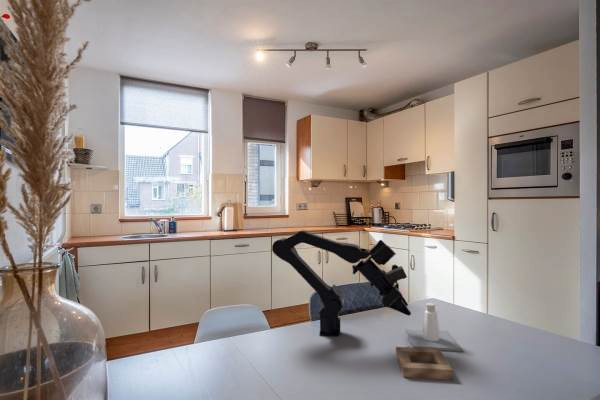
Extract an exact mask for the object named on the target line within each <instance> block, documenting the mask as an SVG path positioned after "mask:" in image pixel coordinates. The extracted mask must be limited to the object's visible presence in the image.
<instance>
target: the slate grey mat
mask: <svg viewBox="0 0 600 400" xmlns="http://www.w3.org/2000/svg"><path fill="white" fill-rule="evenodd" d="M404 332H405V334H406V335H407V338H408V340H409V342H410V345H411V347H412V348H429V349H439V350H440V351H447V352H463V348H462V347H461V345H460V344H459V343H458V342H457V341H456V339H455V338H454V336H453V335H452V334H451V333H450V332H449V331H448V330H439V335H440V339H439V341H428V340H425V339H424V338H423V337H422V335H423V329H412V328H411V329H409V328H406V329H405V331H404Z"/></svg>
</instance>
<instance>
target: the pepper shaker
mask: <svg viewBox="0 0 600 400" xmlns="http://www.w3.org/2000/svg"><path fill="white" fill-rule="evenodd" d="M425 308H426V309H425V310H424V315H423V327H422V330H423V335H422V337H423V338H424V339H425V340H428V341H439V339H440V335H439V331H440V329H439V327H440V326H439V319H438V313H437V311H436V304H435V303H433V302H427V303H426V304H425Z"/></svg>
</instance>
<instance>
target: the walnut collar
mask: <svg viewBox="0 0 600 400" xmlns="http://www.w3.org/2000/svg"><path fill="white" fill-rule="evenodd" d="M395 356H396V359H397V362H398V365H399V368H400V371H401V375H402V378H411V379H412V378H414V379H417V378H418V379H432V380H445V381H446V380H447V381H448V380H449V381H450V380H451V381H453V380H454V371H453V370H454V369H453V368H452V367H451V365H450V363H449V362H448V360H447V358H445V356H444V354H443V353H442V350H439V349H429V348H413V347H403V346H395ZM412 361H415V362H412ZM416 361H419V363H418V362H416ZM420 362H432V363H420Z"/></svg>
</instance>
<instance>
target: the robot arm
mask: <svg viewBox="0 0 600 400" xmlns="http://www.w3.org/2000/svg"><path fill="white" fill-rule="evenodd" d="M302 243H303V244H307V245H309V246H312V247H314V248H318V249H321V250H324V251H327V252H330V253H332V254H334V255H336V256H338V257H339V258H340V259H342V260H344V261H345V262H348V263H349V264H353V265H352V275H355V274H357V272H359V273H360V274H361V275H362V277H364V279H366V280H367V282H368V283H369V285H370V286H371V287H373V288H374V289H375V290H377V292H378V295H380V296H381V303H382V305H383V306H384V307H386V308H387V309H392V310H394V311H396V312H399V313H401V314H404V315H407V316H410V315H411V314H412V312H411V311H410V309H409V308H408V305H409V304H408V302H407V301H406V299H405V297H404V296H403V294H402V292H401V291H400V288H399V287H400V286H399V285H400V284H399V282H398V281H400V280H404V279H407V278H408V276H407V274H406V272H405V269H404V267H403V266H400V265H399V266H398V265H397V264H392V265H391V269H390V270H389V271H387V272H386V271H385V270H384V269H381V268H380V267H379V266H382V265H383V266H385V265H386V264H387V263H388V262H389V261H390V260H391V259H392V258H393V257H394V256H396V252H395V251H394V250H393V249H392V248H391V246H389V245H387V243H385V242H384V241H383V240H382V239H379V240H378V241H377V243H376V244H375V245H374V246H373V247H372V248H371V249H368V248H362V247H361V246H359V245H358V244H355V243H348V242H339V241H336V240H332V239H329V238H327V237H323V236H322V235H321V236H320V235H318V234H316V233H315V234H314V233H312V232H308V231H307V230H304V229H303V230H300V231H298V232H297V233H295V234H293V235H291V236H289V237H287V238H286V237H282V238H280V239H277V240H275V241H274V242H273V244H272V246H271V247H272V249H271V250H272V253H273V254H274V255H275V256H277V258H279V259H280V260H282V261H284V262H286V263H288V264H289V265H290V266H291V268H293V269H294V270H295V271H296V272H297V273H298V274H299V275H300V276H301V277H302V278H303V279H304V281H306V282H307V284H308V285H309V286H310V287H311V288H312V289H313V290H314V291H315V292H316V293H317V295H318V297H319V299H320V301H321V303H322V306H321V307H320V310H319V311H318V315H319V336H328V337H339V336H340V333H341V317H340V316H339V312H341V310H342V309H343V305H344V302H345V297H344V295H343V291H341V290H339V288H338V287H337V286H336V284H335V283H334V284H333V285H332V286H330V285H329V284H327V283H326V282H325V281H324V280H323V279H322V277H320V276H319V275H318V274H317V272H315V271H314V269H312V267H311V266H310V265H309V264H308V263H307V262H306V261H305V259H303V258H302V257H301V256H300V255H299V253H298V251H297V248H296V247H295V246H298V245H300V244H302ZM356 263H357V264H356Z"/></svg>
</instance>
